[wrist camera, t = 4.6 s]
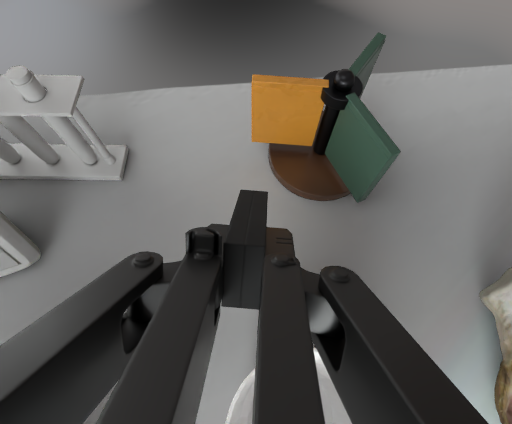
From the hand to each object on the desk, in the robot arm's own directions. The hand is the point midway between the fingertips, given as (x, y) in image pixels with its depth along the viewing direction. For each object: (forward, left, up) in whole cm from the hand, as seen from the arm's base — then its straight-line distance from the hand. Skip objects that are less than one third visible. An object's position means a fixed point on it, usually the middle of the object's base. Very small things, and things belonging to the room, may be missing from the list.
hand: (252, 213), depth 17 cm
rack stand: (+13, -10, -15) cm, 22 cm away
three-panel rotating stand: (+12, -9, -14) cm, 20 cm away
